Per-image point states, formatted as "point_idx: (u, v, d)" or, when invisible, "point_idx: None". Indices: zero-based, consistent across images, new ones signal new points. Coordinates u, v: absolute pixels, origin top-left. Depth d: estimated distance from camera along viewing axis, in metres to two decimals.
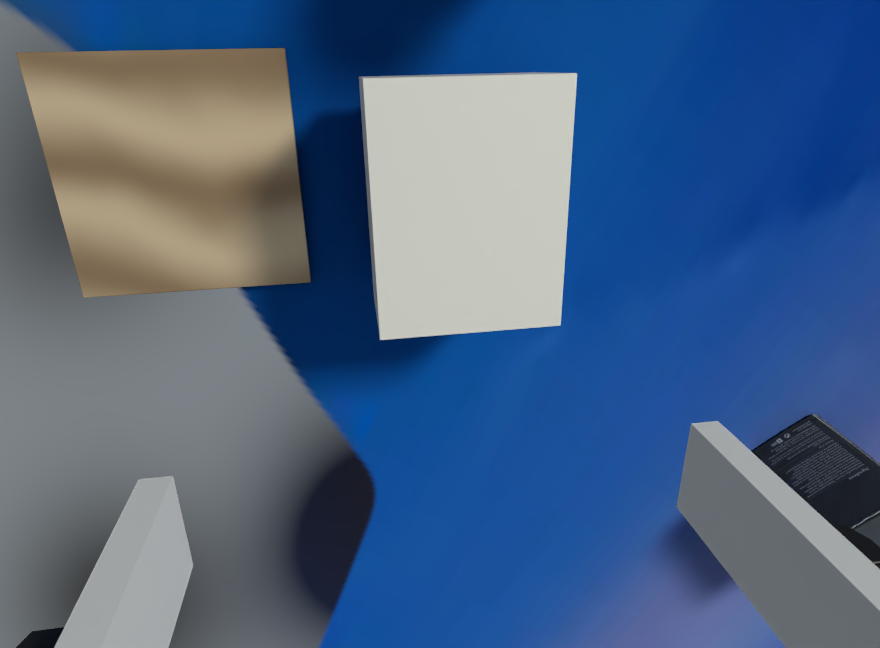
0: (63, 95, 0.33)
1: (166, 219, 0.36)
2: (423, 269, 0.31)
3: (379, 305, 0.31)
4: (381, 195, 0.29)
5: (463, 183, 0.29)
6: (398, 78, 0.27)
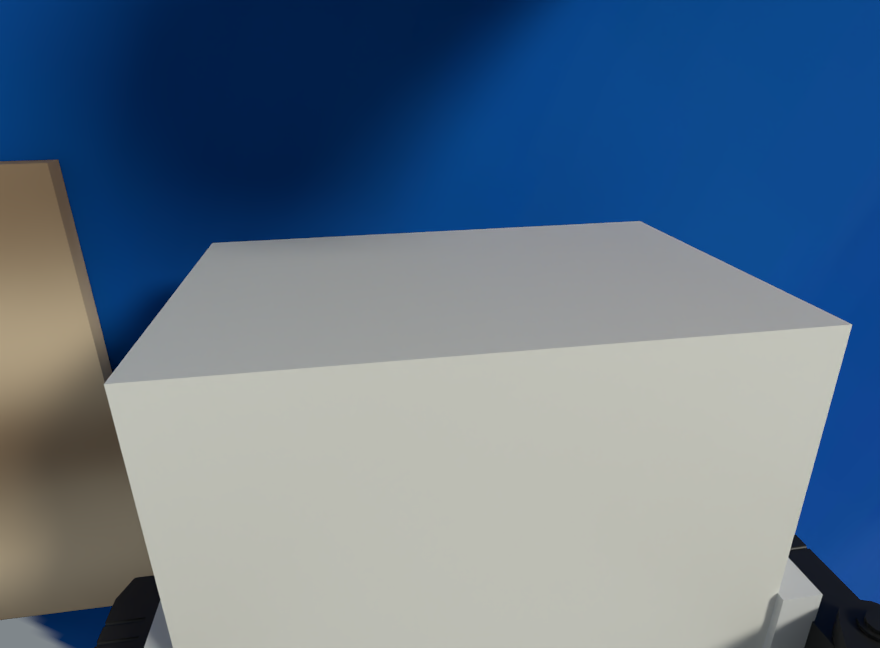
0: None
1: None
2: None
3: None
4: None
5: (473, 625, 0.10)
6: (243, 374, 0.07)
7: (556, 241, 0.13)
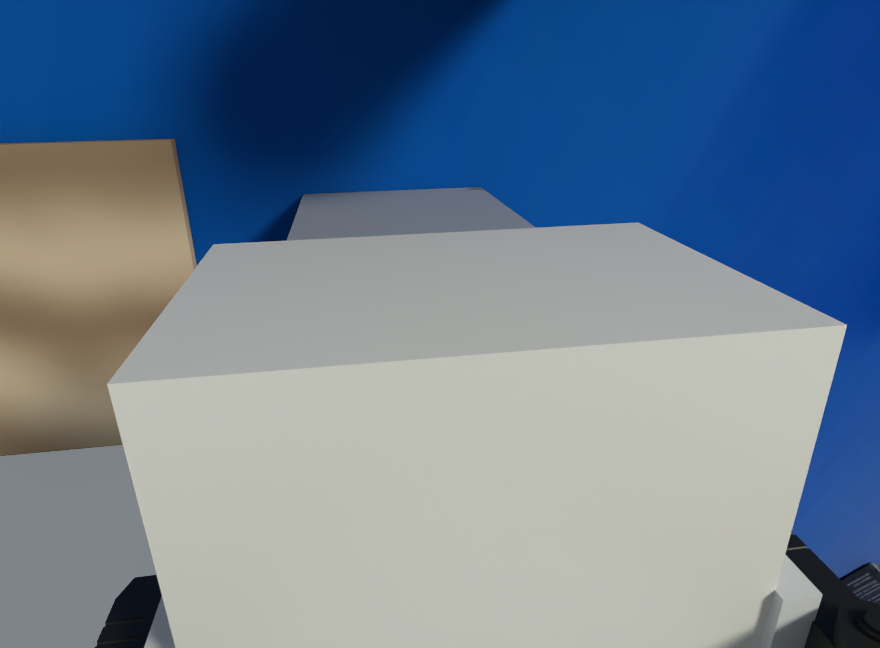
0: None
1: (17, 364, 0.27)
2: None
3: None
4: None
5: (473, 624, 0.10)
6: (244, 374, 0.07)
7: (555, 242, 0.13)
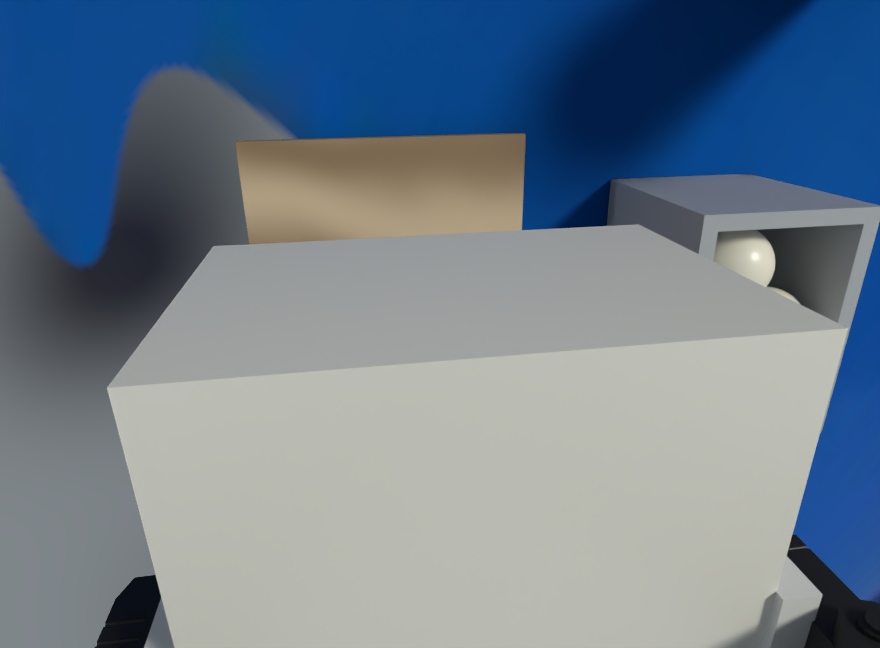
0: (279, 187, 0.29)
1: None
2: None
3: None
4: None
5: (473, 628, 0.10)
6: (244, 378, 0.07)
7: (555, 244, 0.13)
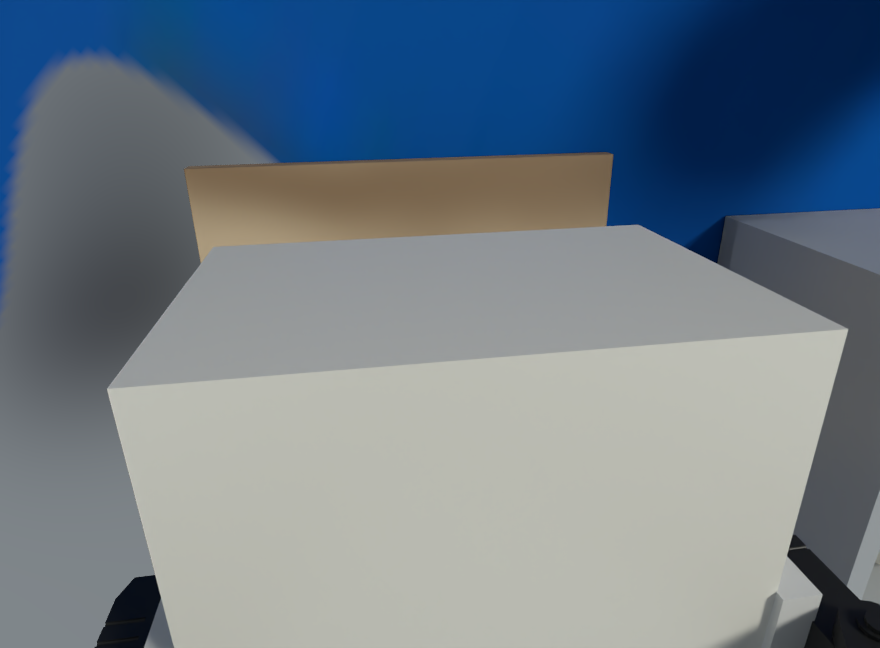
0: (253, 234, 0.20)
1: None
2: None
3: None
4: None
5: (473, 628, 0.10)
6: (244, 378, 0.07)
7: (555, 245, 0.13)
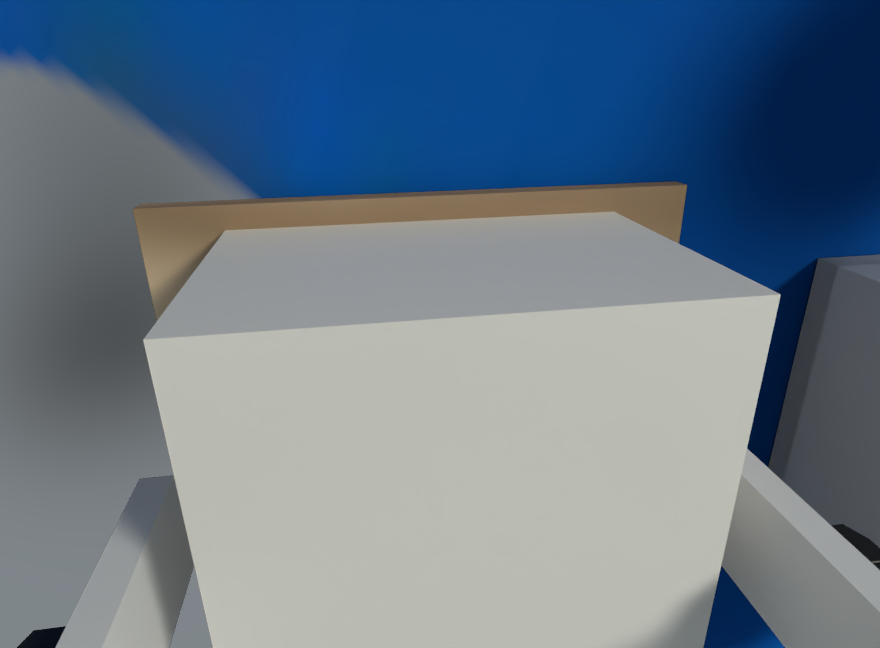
0: None
1: None
2: None
3: None
4: (235, 605, 0.11)
5: (457, 560, 0.11)
6: (259, 332, 0.09)
7: (535, 228, 0.14)
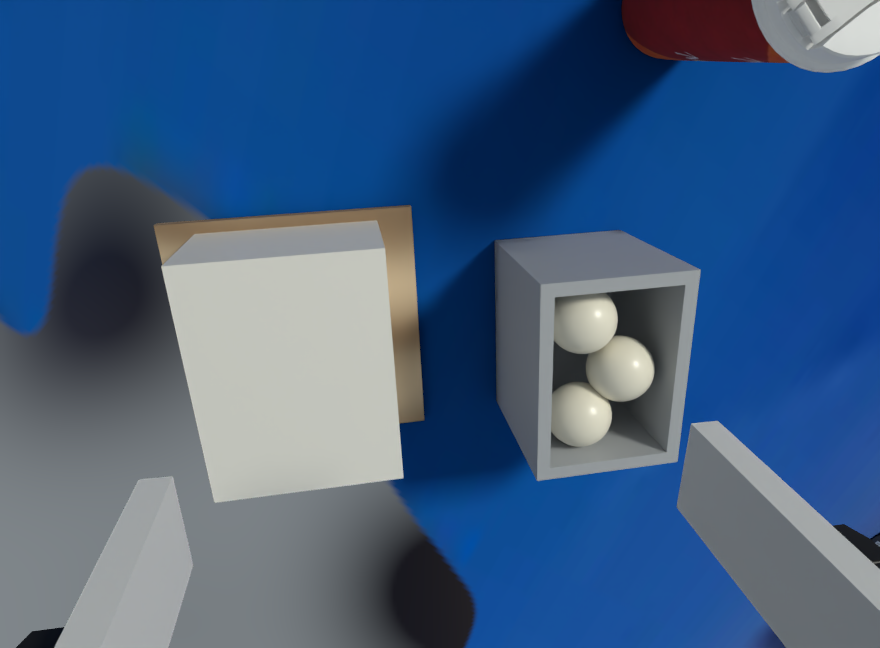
0: None
1: None
2: (250, 435, 0.30)
3: (209, 471, 0.31)
4: (196, 370, 0.29)
5: (280, 354, 0.29)
6: (198, 263, 0.27)
7: (330, 229, 0.32)
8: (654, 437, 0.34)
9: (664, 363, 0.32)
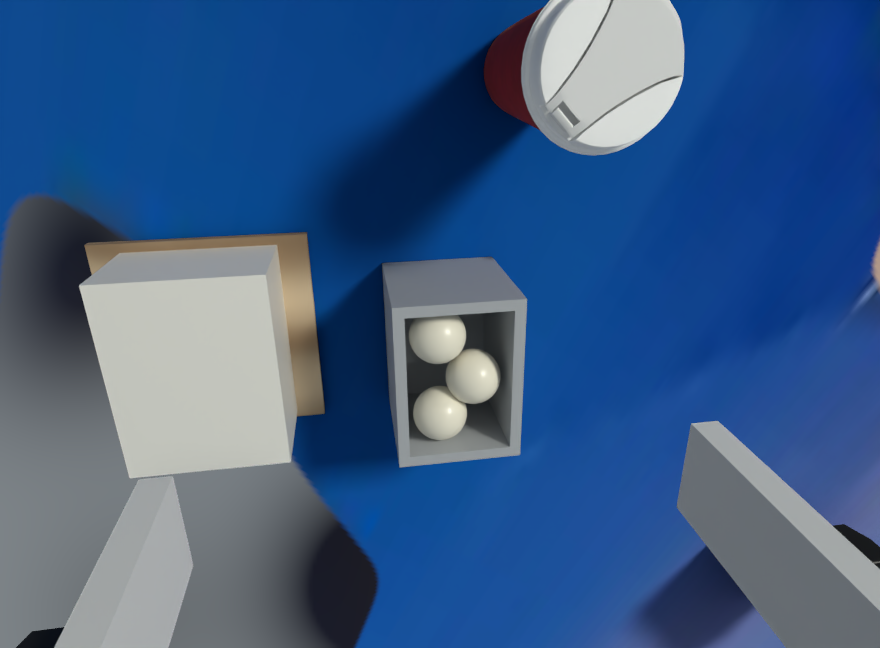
0: None
1: None
2: (158, 423, 0.37)
3: (124, 452, 0.37)
4: (110, 369, 0.35)
5: (181, 358, 0.35)
6: (110, 284, 0.33)
7: (233, 252, 0.39)
8: (504, 434, 0.40)
9: (507, 372, 0.38)
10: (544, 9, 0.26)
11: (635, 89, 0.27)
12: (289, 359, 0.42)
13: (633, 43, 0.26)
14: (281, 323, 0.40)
